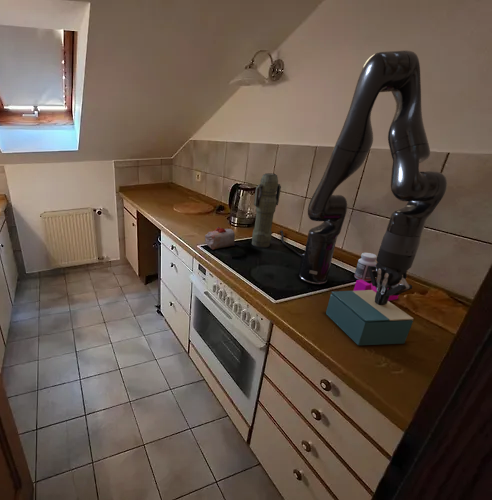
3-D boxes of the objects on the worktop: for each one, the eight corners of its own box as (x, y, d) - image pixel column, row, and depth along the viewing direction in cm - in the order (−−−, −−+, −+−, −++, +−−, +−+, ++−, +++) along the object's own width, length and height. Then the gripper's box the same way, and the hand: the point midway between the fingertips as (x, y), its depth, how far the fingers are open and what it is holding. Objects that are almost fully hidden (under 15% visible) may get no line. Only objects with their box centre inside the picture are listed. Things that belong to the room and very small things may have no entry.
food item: (211, 251, 145) (213, 232, 141) (203, 245, 151) (204, 227, 148) (235, 247, 149) (237, 228, 145) (226, 241, 156) (227, 223, 152)
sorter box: (325, 313, 96) (331, 291, 93) (365, 312, 96) (372, 289, 93) (358, 345, 82) (366, 320, 79) (404, 343, 82) (414, 318, 79)
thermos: (245, 242, 153) (253, 173, 140) (264, 239, 156) (274, 171, 143) (255, 249, 146) (265, 176, 132) (276, 245, 148) (287, 174, 135)
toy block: (380, 290, 108) (386, 271, 105) (397, 299, 102) (404, 279, 99) (345, 295, 105) (350, 276, 102) (360, 305, 100) (366, 285, 97)
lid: (351, 291, 93) (352, 290, 93) (371, 290, 93) (372, 289, 93) (389, 320, 79) (390, 319, 79) (413, 319, 79) (413, 318, 79)
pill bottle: (371, 276, 117) (378, 253, 113) (372, 283, 113) (379, 259, 109) (353, 273, 120) (359, 251, 116) (354, 279, 115) (360, 256, 111)
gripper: (366, 240, 85) (351, 292, 92) (405, 259, 73) (384, 317, 80) (392, 239, 85) (375, 291, 92) (435, 258, 73) (412, 316, 80)
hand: (379, 303), depth 86 cm, fingers closed
